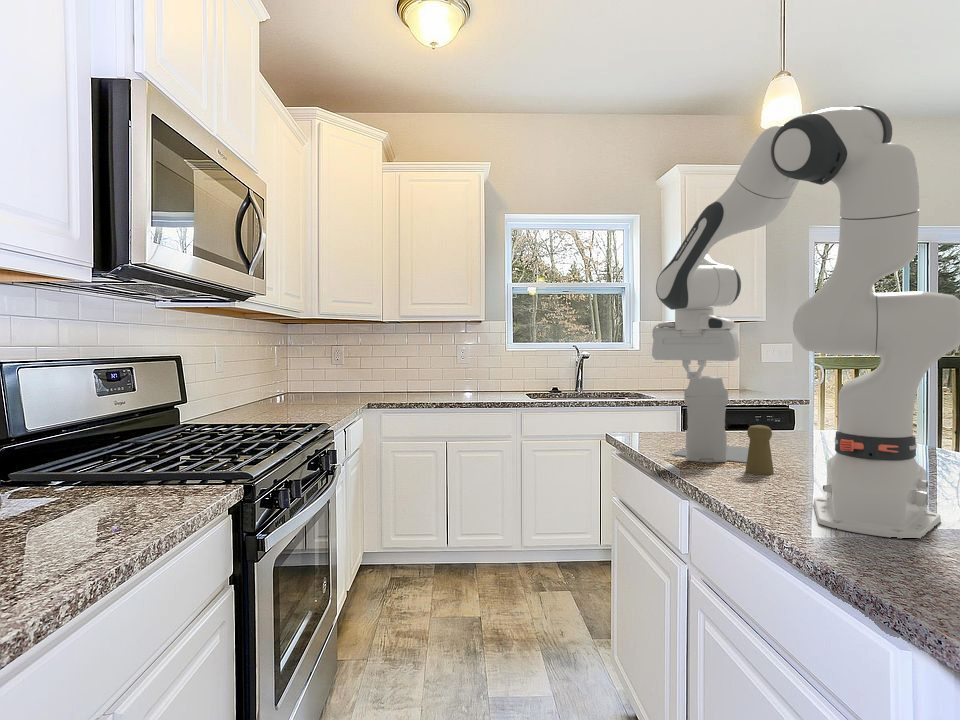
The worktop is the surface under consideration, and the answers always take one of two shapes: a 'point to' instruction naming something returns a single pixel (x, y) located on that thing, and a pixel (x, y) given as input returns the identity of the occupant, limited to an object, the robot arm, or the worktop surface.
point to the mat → (727, 454)
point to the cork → (759, 451)
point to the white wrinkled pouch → (706, 420)
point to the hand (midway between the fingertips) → (694, 379)
